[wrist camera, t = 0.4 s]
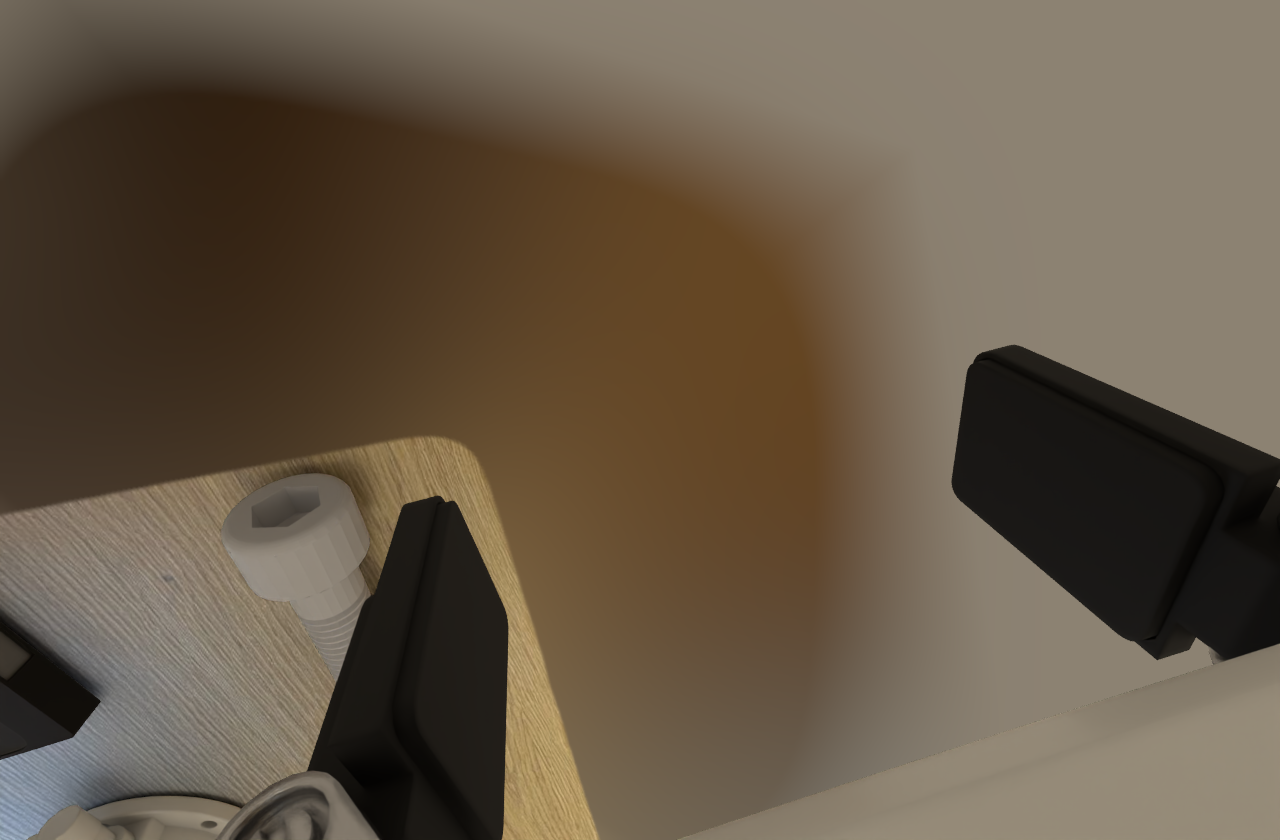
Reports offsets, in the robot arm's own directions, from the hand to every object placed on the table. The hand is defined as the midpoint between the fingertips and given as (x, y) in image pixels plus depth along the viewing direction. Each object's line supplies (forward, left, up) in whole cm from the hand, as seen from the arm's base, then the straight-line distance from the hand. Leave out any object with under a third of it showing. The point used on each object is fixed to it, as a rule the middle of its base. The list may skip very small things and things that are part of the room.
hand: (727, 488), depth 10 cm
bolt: (+13, -17, -17) cm, 27 cm away
